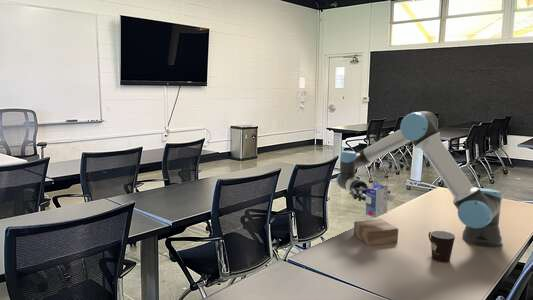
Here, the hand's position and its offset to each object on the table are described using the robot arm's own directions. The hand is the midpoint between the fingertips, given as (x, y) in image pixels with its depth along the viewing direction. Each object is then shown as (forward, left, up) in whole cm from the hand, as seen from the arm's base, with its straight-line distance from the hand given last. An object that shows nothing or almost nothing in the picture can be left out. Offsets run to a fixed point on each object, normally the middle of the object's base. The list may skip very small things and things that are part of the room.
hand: (382, 200), depth 169 cm
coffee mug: (-20, -14, -19) cm, 31 cm away
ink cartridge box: (+4, 0, -8) cm, 9 cm away
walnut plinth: (+4, 0, -19) cm, 19 cm away
